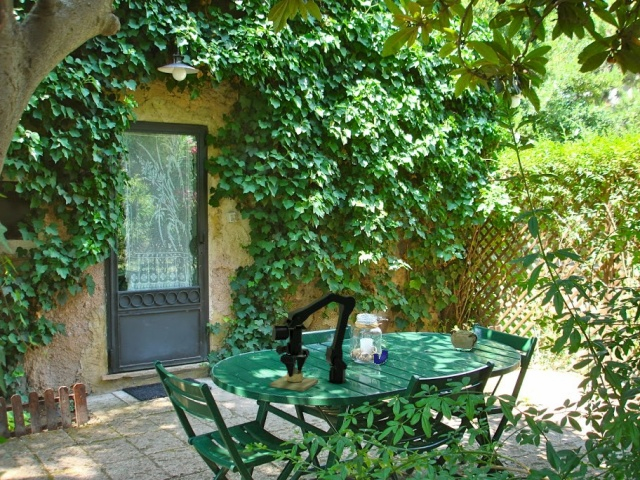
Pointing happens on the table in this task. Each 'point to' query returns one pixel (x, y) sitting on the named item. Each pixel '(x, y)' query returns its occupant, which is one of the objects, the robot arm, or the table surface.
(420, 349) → the table surface
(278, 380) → the stand
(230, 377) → the table surface
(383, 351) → the cable clip
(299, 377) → the ring
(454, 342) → the sugar bowl
